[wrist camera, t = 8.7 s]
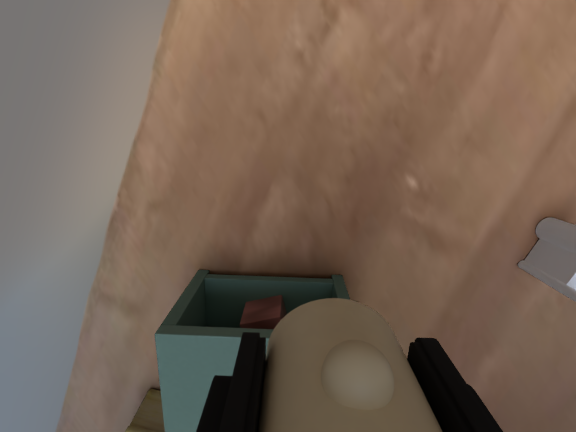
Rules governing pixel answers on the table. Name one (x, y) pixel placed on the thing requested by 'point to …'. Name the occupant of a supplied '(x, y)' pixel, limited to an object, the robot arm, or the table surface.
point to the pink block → (263, 313)
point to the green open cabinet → (218, 334)
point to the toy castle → (554, 256)
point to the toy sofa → (149, 414)
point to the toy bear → (340, 374)
